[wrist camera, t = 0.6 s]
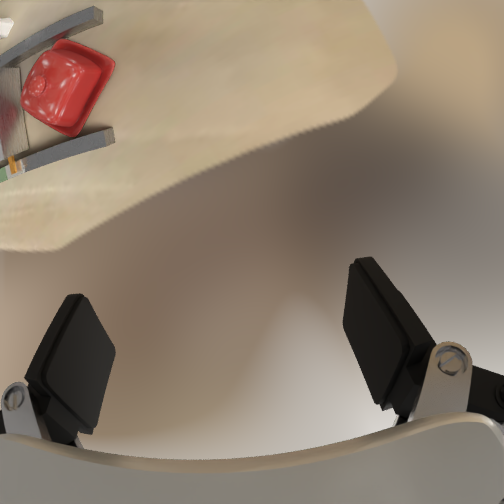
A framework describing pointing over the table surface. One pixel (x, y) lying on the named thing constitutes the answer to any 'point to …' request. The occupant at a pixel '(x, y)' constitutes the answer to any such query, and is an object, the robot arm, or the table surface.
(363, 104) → the table surface
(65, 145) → the grey open box
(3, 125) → the brushed metal plate
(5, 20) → the perfume bottle
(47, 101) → the butter dish
